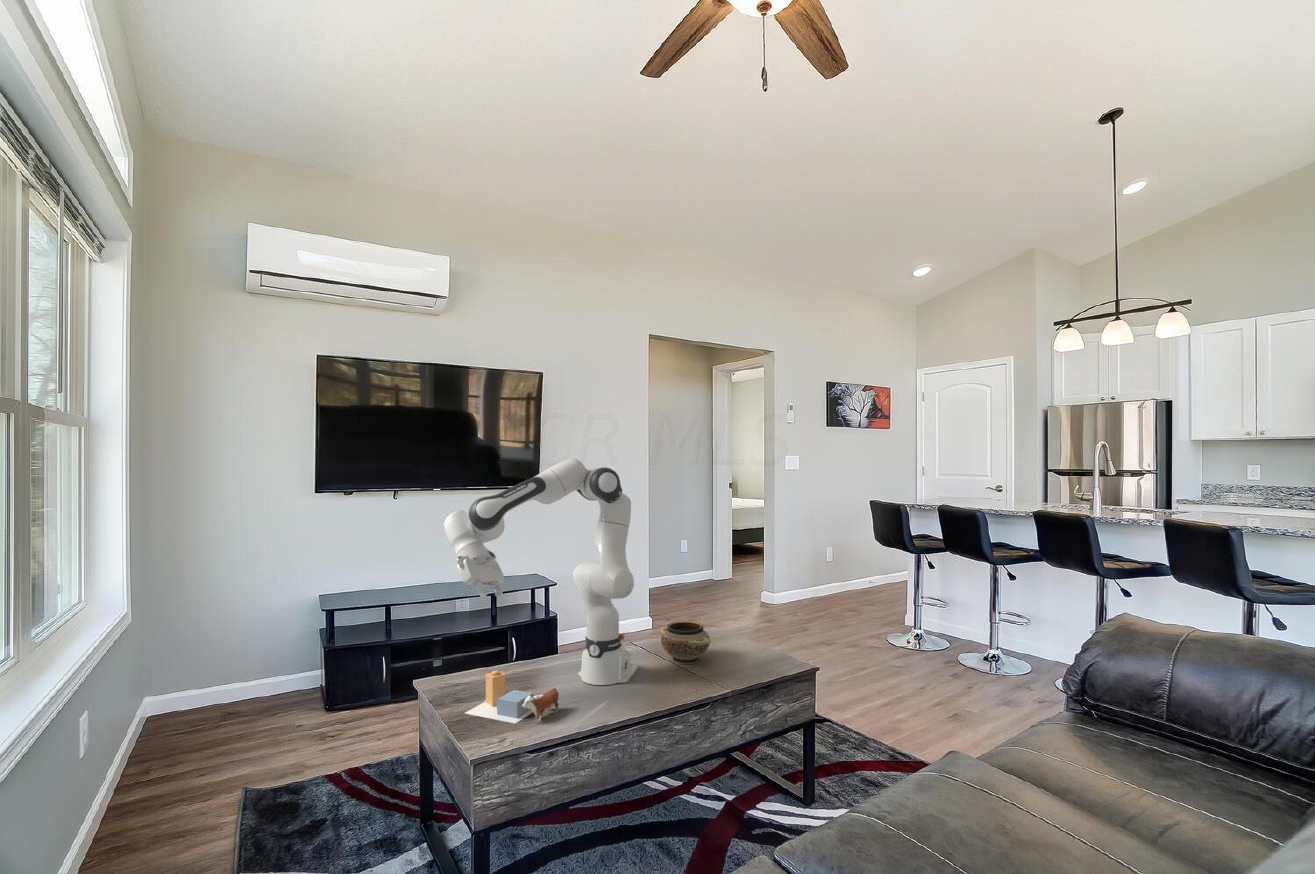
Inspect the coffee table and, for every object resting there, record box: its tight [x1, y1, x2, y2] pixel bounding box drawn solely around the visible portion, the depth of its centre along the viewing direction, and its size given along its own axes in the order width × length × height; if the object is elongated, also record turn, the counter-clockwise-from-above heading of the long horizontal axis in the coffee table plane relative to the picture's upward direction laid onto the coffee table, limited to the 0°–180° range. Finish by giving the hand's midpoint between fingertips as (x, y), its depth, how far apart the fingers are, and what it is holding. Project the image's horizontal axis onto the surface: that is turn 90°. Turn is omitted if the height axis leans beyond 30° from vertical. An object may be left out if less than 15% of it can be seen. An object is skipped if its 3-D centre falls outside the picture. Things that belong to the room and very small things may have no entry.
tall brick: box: [485, 669, 507, 707], centre depth 195 cm, size 4×4×9 cm
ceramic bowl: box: [659, 620, 712, 665], centre depth 237 cm, size 24×18×15 cm
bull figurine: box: [522, 688, 559, 721], centre depth 185 cm, size 4×13×8 cm, turn 146°
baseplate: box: [464, 700, 533, 724], centre depth 191 cm, size 17×18×1 cm
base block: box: [497, 689, 534, 718], centre depth 188 cm, size 8×7×4 cm
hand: (492, 596), depth 196 cm, fingers open, 8 cm apart
